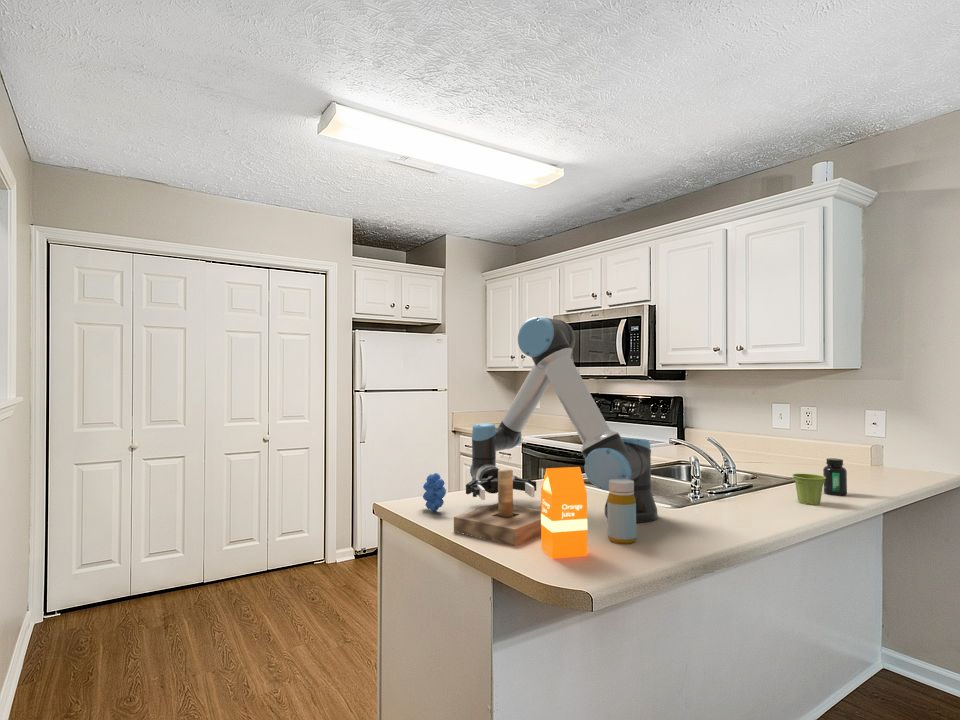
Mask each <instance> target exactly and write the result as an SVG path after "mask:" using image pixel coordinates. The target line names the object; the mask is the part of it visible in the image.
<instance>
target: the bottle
mask: <svg viewBox="0 0 960 720" xmlns="http://www.w3.org/2000/svg"><path fill="white" fill-rule="evenodd" d="M608 495H609V496H608ZM608 495H607V498H608V501H607V500H606V501H607V512H608V517H607V538H608V540H610V542H612V543H614V544H619V545H631V544H633V543H635V542H636V541H637V522H636V499H635V496H634V481H633V480H629V479H611V480H609V491H608Z"/></svg>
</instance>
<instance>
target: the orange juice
mask: <svg viewBox="0 0 960 720" xmlns="http://www.w3.org/2000/svg"><path fill="white" fill-rule="evenodd" d="M584 481H585V480H584V477H583V473H582V469H581V467H580V466H573V467H572V466H571V467H568V466H567V467H551V468H547V467H546V468H545V473H544V476H543V480H542V484H541V487H540V510H541V535H540V537H541V543H540V544H541V547H540V548H541V550H542V551H543V552H544V553H545V554H547V555H548V557H550V558H551V559H552V560H553V559H565V558H574V557H575V558H576V557H578V558H579V557H588V492H587V489H586V488H587V487H586V485H585V482H584Z"/></svg>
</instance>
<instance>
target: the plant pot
mask: <svg viewBox="0 0 960 720" xmlns="http://www.w3.org/2000/svg"><path fill="white" fill-rule="evenodd" d="M791 476H792V478H793V481H794V482H795V483H794V484H795V488H796V489H795V490H796V496H797V501H798V503H800V504H803V505H808V504H809V505H812V506H818V505H820V504H821V499H822V493H823V489H824V481H825V479H826V477H824V476H823V475H821V474H820V475H819V474H812V473H793V474H792V475H791Z"/></svg>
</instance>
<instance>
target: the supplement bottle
mask: <svg viewBox="0 0 960 720" xmlns="http://www.w3.org/2000/svg"><path fill="white" fill-rule="evenodd" d="M825 464H826V466H824V467H823V473H822V476H824V477H826V479H825V481H824V484H823V493H824V494H825V495H827V496H834V497H846V496H847V495H848V478H847V477H848V472H847V471H848V470H847V469H846V468H845V467H844V460H843V459H842V458H826V462H825Z"/></svg>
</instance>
